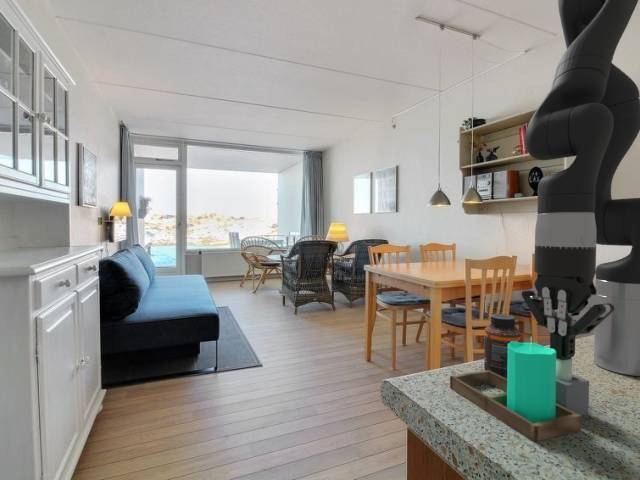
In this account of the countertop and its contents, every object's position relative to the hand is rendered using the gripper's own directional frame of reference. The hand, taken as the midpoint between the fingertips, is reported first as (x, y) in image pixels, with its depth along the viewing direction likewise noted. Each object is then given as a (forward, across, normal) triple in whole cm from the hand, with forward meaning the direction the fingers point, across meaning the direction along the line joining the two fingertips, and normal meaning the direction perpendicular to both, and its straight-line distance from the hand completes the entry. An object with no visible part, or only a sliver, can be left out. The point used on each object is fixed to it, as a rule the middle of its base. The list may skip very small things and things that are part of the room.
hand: (561, 358), depth 52 cm
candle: (+8, -1, +7) cm, 11 cm away
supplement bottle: (+8, +12, -1) cm, 15 cm away
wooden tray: (+8, +3, +7) cm, 11 cm away
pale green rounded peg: (+6, 0, 0) cm, 6 cm away
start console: (+8, 0, 0) cm, 8 cm away
